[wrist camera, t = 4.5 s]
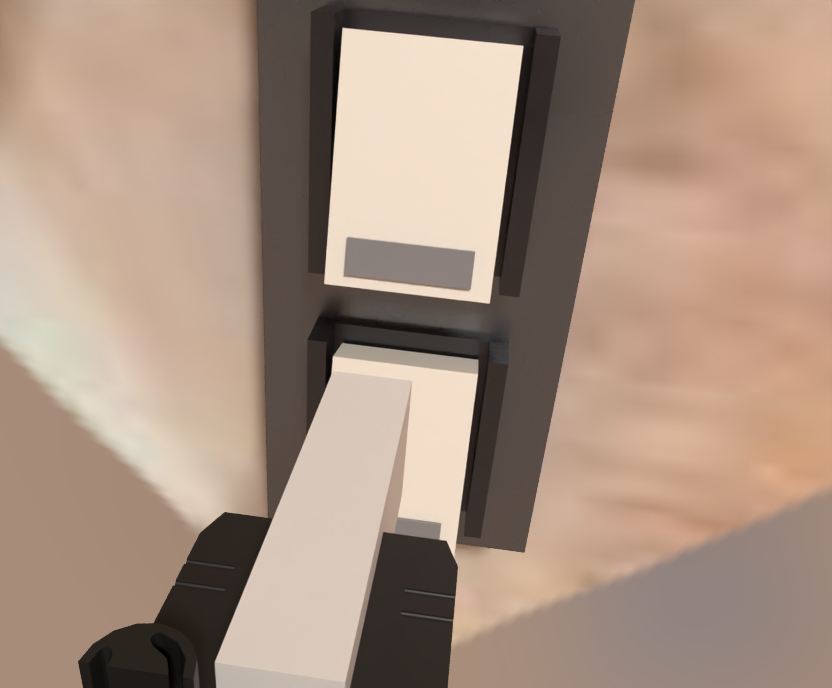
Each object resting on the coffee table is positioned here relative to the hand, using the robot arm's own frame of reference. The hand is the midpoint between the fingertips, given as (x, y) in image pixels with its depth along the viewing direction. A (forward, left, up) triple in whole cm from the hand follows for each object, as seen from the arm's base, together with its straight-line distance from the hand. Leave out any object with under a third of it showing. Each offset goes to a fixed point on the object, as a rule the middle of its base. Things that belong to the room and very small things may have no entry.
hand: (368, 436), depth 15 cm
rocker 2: (+7, 0, -8) cm, 11 cm away
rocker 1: (-3, 0, -8) cm, 9 cm away
